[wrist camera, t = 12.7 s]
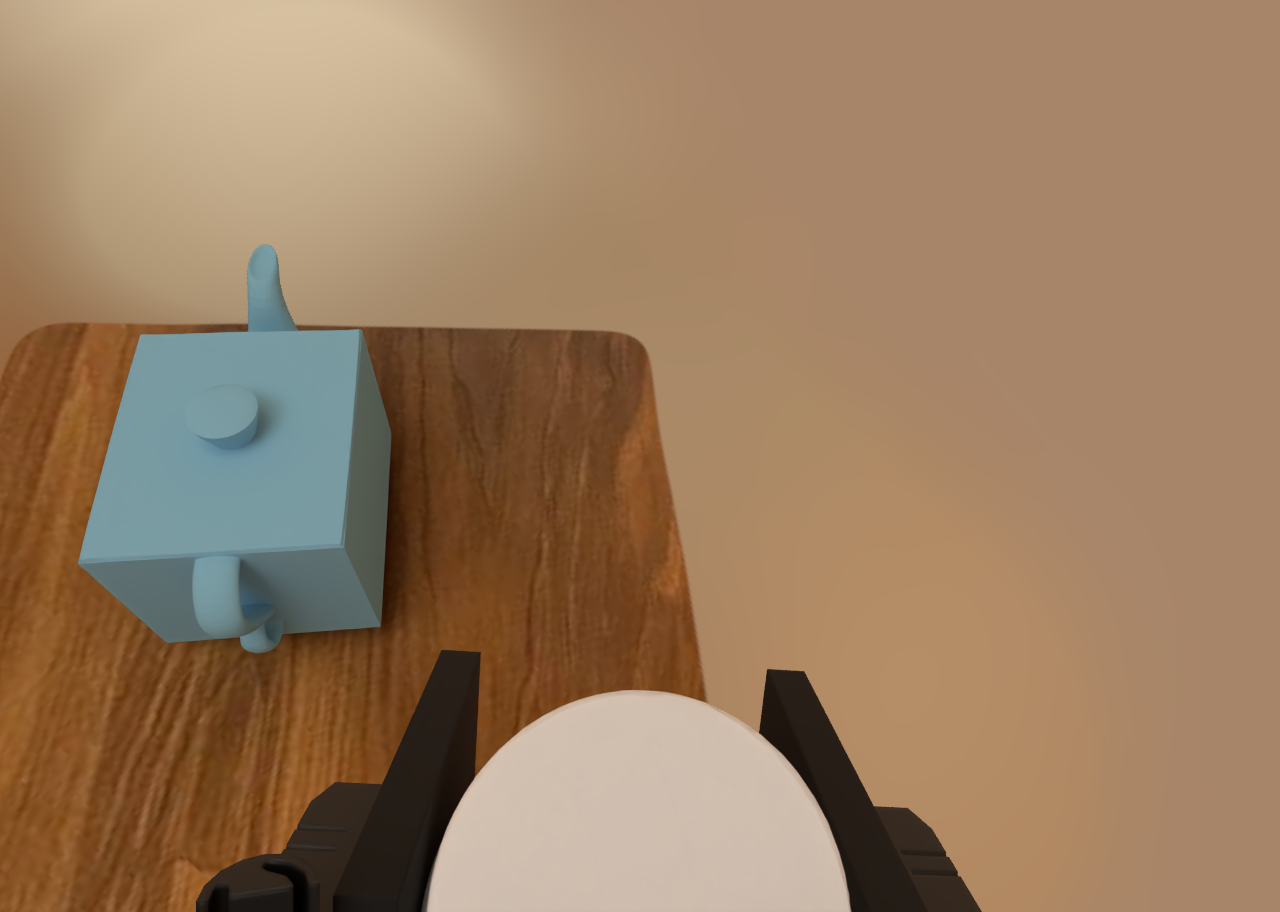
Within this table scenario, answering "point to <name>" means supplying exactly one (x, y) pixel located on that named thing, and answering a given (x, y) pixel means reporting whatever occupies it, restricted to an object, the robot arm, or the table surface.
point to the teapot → (246, 481)
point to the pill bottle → (637, 818)
